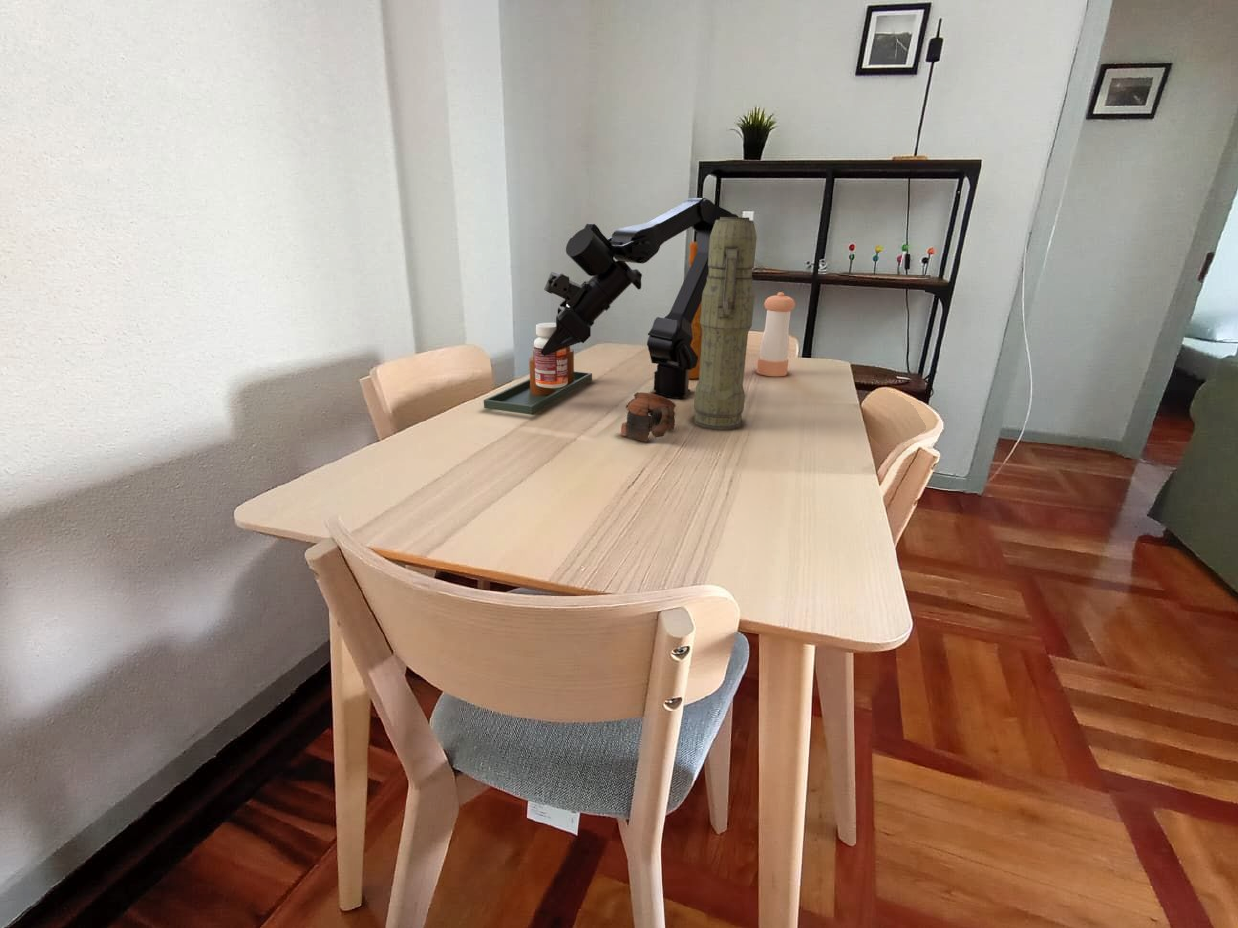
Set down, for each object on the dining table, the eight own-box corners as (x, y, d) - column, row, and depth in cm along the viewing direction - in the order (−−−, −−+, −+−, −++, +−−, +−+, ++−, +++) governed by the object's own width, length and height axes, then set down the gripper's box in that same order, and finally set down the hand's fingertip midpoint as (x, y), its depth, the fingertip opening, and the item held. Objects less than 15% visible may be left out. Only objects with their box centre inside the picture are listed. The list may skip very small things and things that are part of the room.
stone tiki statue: (737, 413, 117) (756, 218, 104) (746, 433, 107) (768, 218, 93) (691, 411, 118) (704, 216, 105) (695, 431, 107) (710, 216, 94)
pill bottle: (563, 389, 113) (562, 328, 109) (531, 388, 114) (528, 326, 109) (571, 381, 118) (570, 322, 114) (540, 379, 119) (538, 321, 115)
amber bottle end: (577, 380, 135) (577, 330, 131) (568, 386, 131) (567, 334, 127) (557, 378, 137) (556, 329, 133) (547, 383, 132) (545, 332, 128)
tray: (592, 383, 136) (592, 373, 136) (532, 418, 112) (531, 406, 111) (551, 378, 140) (551, 368, 139) (484, 411, 115) (483, 400, 114)
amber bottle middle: (558, 391, 127) (558, 338, 123) (547, 397, 122) (546, 342, 118) (537, 388, 128) (535, 336, 124) (526, 394, 124) (523, 340, 120)
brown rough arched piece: (607, 434, 106) (620, 389, 107) (649, 450, 111) (662, 407, 112) (644, 437, 96) (659, 387, 96) (689, 455, 101) (703, 407, 101)
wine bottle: (712, 380, 141) (723, 243, 129) (669, 379, 141) (677, 242, 130) (706, 370, 150) (716, 241, 139) (667, 369, 150) (673, 240, 139)
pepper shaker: (750, 372, 149) (758, 291, 142) (767, 368, 154) (776, 290, 147) (775, 378, 144) (785, 295, 137) (792, 373, 149) (803, 293, 142)
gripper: (571, 253, 116) (515, 311, 120) (569, 259, 99) (505, 328, 102) (611, 295, 120) (556, 351, 123) (617, 309, 102) (553, 374, 106)
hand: (543, 350), depth 114 cm, fingers closed on pill bottle, 6 cm apart
